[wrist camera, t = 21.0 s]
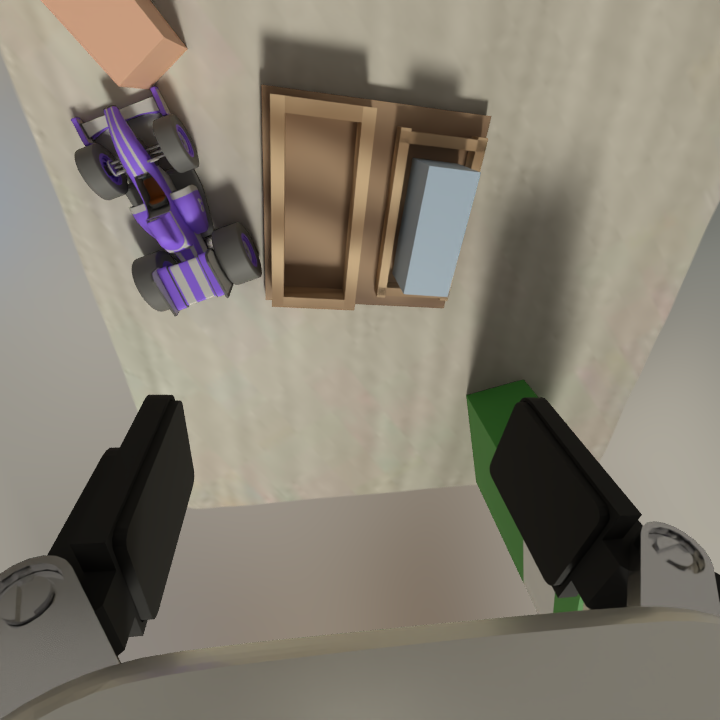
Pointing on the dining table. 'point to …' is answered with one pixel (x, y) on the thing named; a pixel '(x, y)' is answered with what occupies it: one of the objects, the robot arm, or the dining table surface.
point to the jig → (347, 192)
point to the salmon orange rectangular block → (122, 37)
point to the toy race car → (166, 208)
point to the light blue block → (433, 226)
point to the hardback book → (486, 431)
